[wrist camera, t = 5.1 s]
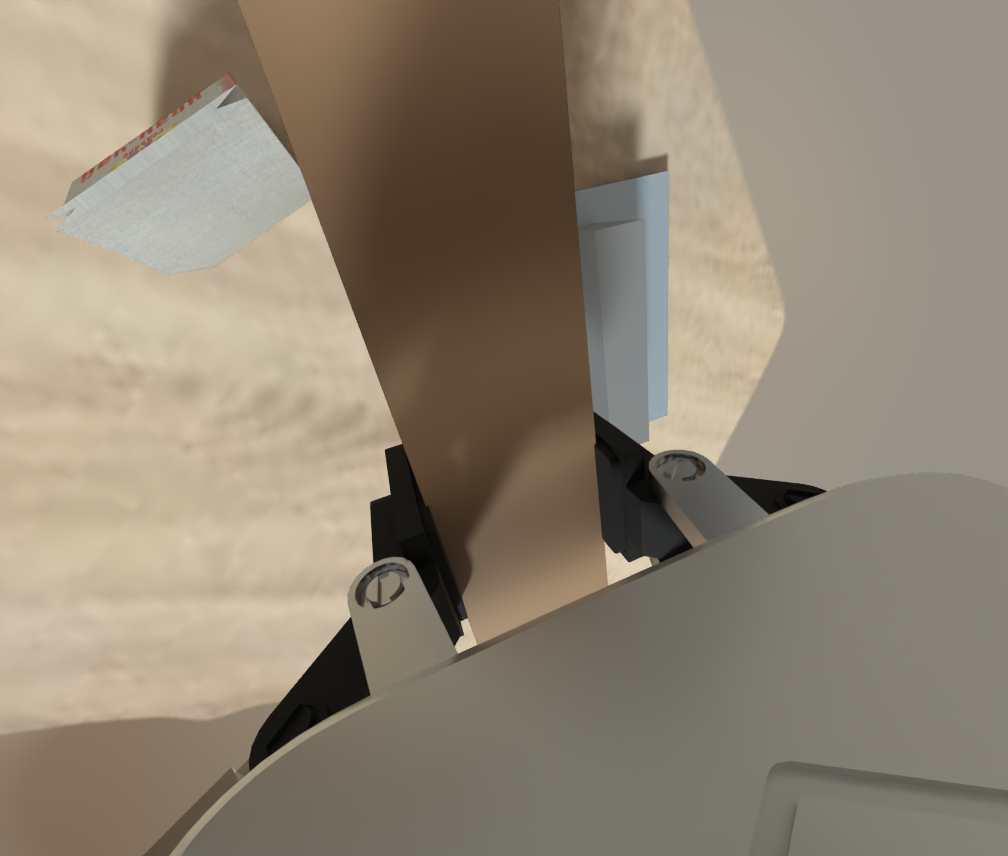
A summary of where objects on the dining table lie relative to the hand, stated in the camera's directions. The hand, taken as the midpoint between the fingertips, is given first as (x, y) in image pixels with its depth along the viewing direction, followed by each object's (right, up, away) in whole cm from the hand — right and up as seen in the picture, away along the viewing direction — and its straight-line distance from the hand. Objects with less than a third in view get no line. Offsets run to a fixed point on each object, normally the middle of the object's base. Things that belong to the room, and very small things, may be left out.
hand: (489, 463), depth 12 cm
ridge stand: (+6, +8, +17) cm, 20 cm away
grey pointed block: (-13, +13, +8) cm, 20 cm away
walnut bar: (0, 0, +1) cm, 1 cm away
